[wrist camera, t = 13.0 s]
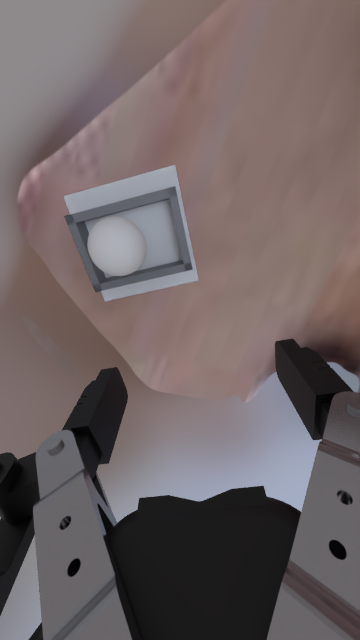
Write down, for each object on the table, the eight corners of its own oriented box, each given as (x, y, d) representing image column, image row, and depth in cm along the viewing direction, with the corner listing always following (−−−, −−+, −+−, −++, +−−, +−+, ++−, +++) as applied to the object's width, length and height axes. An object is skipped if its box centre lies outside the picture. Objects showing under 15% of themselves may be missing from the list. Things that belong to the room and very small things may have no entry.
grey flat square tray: (175, 165, 28) (174, 159, 25) (198, 279, 35) (199, 286, 32) (64, 196, 30) (51, 194, 27) (105, 300, 36) (98, 308, 33)
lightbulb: (163, 244, 32) (153, 258, 22) (131, 270, 34) (108, 294, 24) (134, 205, 30) (109, 201, 20) (101, 234, 32) (63, 245, 22)
